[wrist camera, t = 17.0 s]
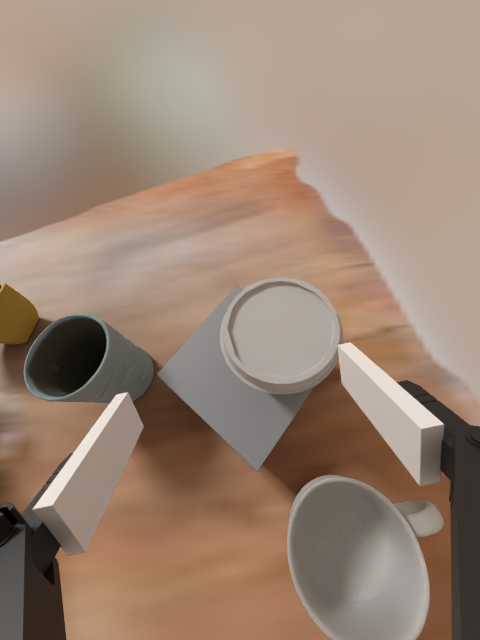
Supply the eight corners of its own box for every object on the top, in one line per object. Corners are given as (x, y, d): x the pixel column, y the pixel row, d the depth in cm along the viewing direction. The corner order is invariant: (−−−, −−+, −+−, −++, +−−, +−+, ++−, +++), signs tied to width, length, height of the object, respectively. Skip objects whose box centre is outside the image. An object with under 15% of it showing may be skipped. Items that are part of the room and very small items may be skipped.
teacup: (298, 599, 24) (307, 669, 17) (274, 474, 29) (274, 488, 22) (438, 579, 24) (510, 644, 16) (390, 454, 28) (429, 462, 21)
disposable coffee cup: (248, 323, 31) (233, 266, 21) (323, 336, 29) (351, 279, 18) (230, 397, 28) (200, 375, 17) (315, 417, 26) (342, 407, 15)
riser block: (260, 464, 30) (257, 471, 24) (174, 383, 35) (156, 374, 30) (329, 363, 34) (339, 350, 28) (242, 305, 39) (236, 285, 34)
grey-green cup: (168, 385, 35) (121, 365, 25) (106, 425, 34) (28, 422, 24) (144, 333, 40) (95, 297, 29) (88, 367, 39) (15, 342, 28)
